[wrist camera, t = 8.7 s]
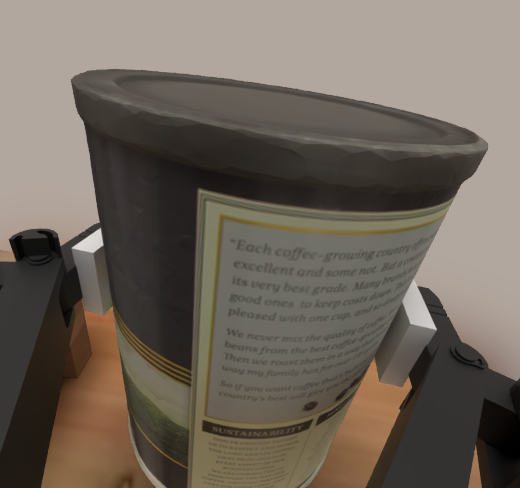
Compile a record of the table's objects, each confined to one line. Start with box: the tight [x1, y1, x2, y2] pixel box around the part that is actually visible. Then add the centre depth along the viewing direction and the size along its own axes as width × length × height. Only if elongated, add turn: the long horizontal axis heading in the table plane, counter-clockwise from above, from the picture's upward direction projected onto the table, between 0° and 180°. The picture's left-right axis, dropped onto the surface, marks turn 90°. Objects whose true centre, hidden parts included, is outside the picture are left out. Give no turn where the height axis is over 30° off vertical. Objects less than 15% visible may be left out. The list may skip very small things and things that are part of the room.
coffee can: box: [71, 69, 488, 488], centre depth 12 cm, size 10×10×14 cm
